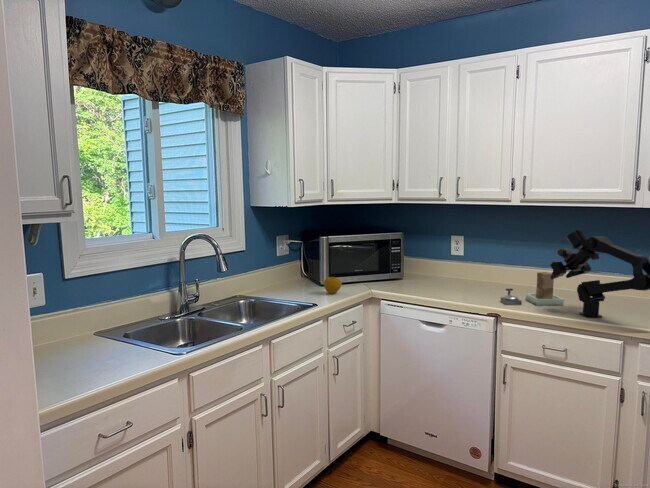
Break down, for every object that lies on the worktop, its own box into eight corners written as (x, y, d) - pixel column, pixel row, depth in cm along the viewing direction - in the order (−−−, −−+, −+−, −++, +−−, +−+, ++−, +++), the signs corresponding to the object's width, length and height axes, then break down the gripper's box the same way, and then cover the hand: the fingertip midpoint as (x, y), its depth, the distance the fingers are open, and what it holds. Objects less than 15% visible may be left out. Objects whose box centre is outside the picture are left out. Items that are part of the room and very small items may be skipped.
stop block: (552, 301, 221) (554, 273, 220) (544, 302, 220) (545, 274, 218) (544, 298, 226) (545, 271, 225) (535, 299, 224) (537, 272, 223)
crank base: (521, 304, 219) (521, 300, 218) (506, 304, 219) (506, 300, 218) (515, 301, 225) (515, 297, 225) (500, 301, 225) (500, 297, 225)
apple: (344, 293, 243) (344, 276, 242) (334, 296, 237) (334, 278, 235) (331, 291, 249) (331, 274, 248) (320, 294, 242) (320, 276, 241)
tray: (563, 305, 217) (563, 299, 217) (536, 305, 217) (537, 299, 217) (550, 299, 229) (551, 293, 229) (525, 299, 229) (525, 293, 229)
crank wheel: (520, 300, 219) (520, 291, 218) (507, 300, 219) (507, 291, 218) (514, 297, 225) (515, 288, 224) (502, 297, 225) (502, 288, 224)
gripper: (587, 241, 211) (564, 262, 222) (555, 243, 204) (533, 264, 216) (601, 261, 204) (577, 282, 216) (569, 264, 198) (546, 285, 209)
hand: (558, 277), depth 214 cm, fingers open, 9 cm apart
